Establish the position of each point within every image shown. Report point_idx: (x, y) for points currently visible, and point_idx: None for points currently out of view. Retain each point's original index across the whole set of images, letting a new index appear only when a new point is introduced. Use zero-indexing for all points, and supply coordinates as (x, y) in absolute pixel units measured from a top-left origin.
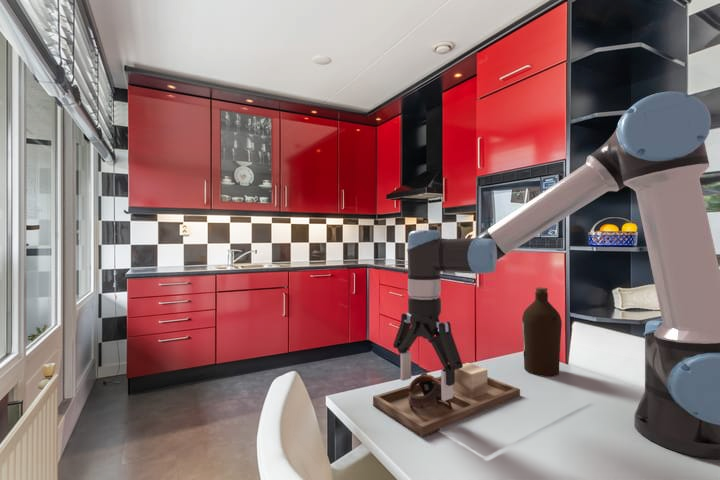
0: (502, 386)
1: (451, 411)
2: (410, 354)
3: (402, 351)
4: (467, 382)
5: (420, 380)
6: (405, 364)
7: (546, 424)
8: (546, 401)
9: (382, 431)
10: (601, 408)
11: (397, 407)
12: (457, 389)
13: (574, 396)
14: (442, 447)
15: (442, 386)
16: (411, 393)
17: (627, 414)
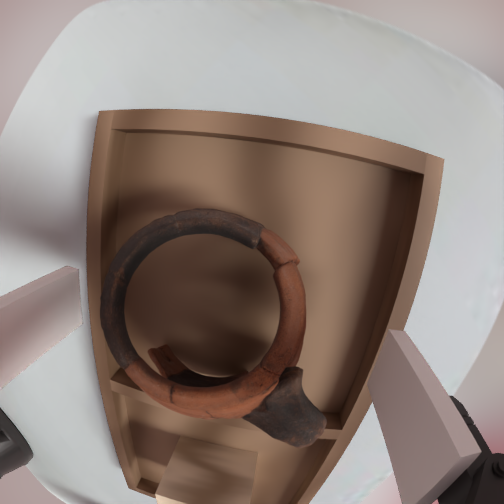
0: None
1: (153, 332)
2: (402, 498)
3: (471, 478)
4: (183, 473)
5: (258, 365)
6: (411, 413)
7: (42, 396)
8: (105, 473)
9: (242, 36)
10: (63, 468)
11: (327, 203)
12: (236, 455)
13: (103, 493)
14: (65, 134)
15: (27, 289)
16: (237, 229)
17: (45, 460)
